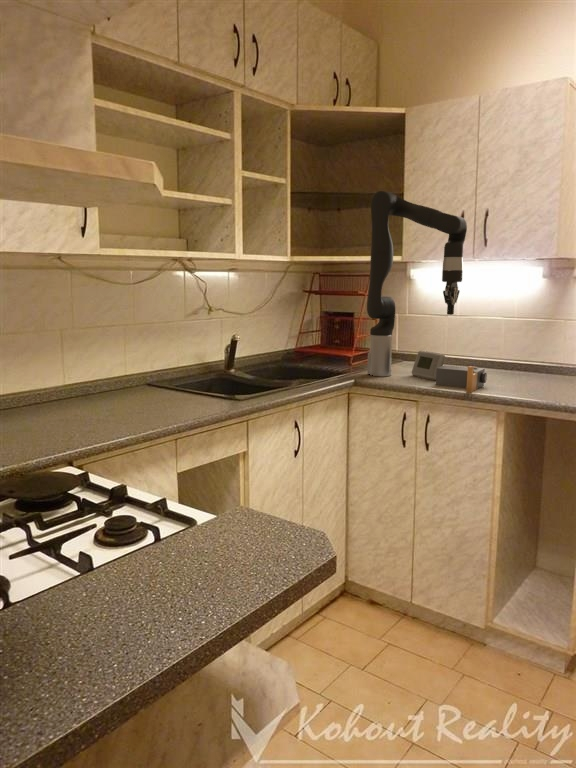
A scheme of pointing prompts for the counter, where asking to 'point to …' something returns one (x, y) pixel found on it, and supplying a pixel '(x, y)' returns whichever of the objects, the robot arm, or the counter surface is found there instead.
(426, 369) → the digital clock
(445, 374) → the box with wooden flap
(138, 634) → the counter surface
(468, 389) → the orange flat l-shaped piece
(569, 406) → the counter surface
